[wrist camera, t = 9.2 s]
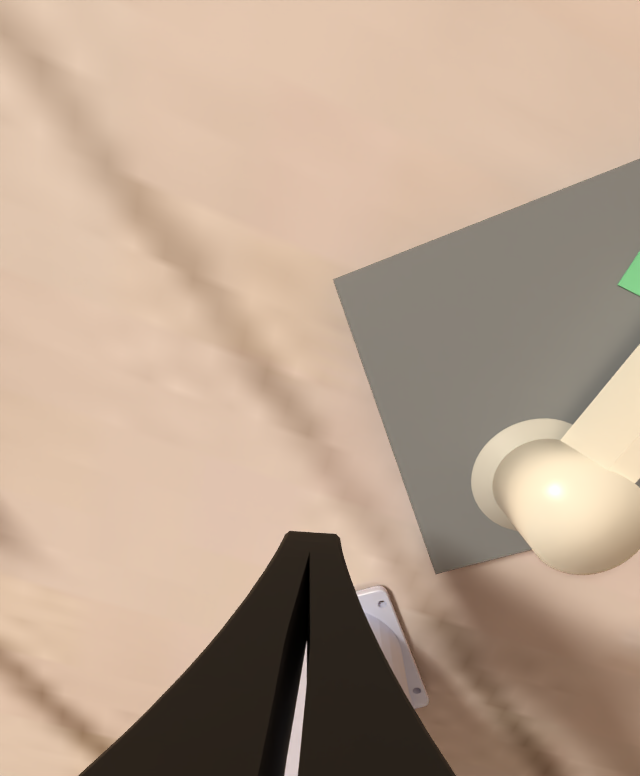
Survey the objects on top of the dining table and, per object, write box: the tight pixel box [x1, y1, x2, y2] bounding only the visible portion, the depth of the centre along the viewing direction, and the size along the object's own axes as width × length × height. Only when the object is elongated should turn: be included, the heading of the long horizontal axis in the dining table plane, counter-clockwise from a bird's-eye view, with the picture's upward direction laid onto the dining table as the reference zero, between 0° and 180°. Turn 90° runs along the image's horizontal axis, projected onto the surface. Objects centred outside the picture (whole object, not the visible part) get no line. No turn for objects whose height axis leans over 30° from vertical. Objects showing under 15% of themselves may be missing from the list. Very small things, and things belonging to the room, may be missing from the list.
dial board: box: [333, 159, 640, 574], centre depth 16 cm, size 16×20×2 cm
